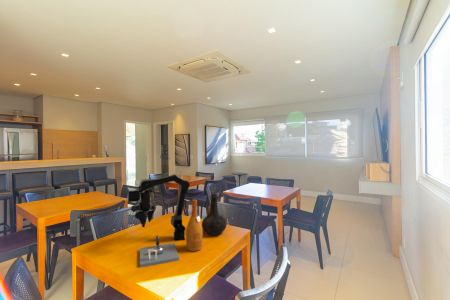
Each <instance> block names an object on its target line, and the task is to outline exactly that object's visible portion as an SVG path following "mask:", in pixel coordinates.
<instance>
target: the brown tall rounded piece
mask: <svg viewBox="0 0 450 300" xmlns="http://www.w3.org/2000/svg"><path fill="white" fill-rule="evenodd" d="M197 207H198V200H197V199H191V216H190V218H189V220H188V223H187V225H186V228H185V233H186V234H185V242H186V249H187V250H188V251H190V252H198V251H200V250H201V249H202V248H203V228H202V221H201V217H200V215H198V212H197V211H198V210H197Z"/></svg>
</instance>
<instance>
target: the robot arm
mask: <svg viewBox="0 0 450 300" xmlns="http://www.w3.org/2000/svg"><path fill="white" fill-rule="evenodd" d="M172 182H174V183H176V184H177V185H178V196H177V202H176V205H175V206H176V207H175V211H174V212H175V213H174V214H173V215H171V217H170V221H169V222H170V223H171V226H172V227H173V228H174V230H173V239H174V240H175V242H177V241H186V234H185V232H186V227H185V225H184V224H183V215H182V214H183V210H184V204H185V198H186V194H187V192H188V191H189V188H190V182H189V181H188V180H186V179H182V178H180V177H179V176H177V175H176V174H171V175H166V176H162V177H159V178H148V179H147V178H146V179H145V178H144V179H142V180H141V181H140V182H139V185H138V187H137V188H136V189H134V190H127V202H128V203H132V202H133V203H134V202H138V201H139V200H140V202H139V203H138V204H136V205H135V204H134V205H131V207H130V210H131V212H132V213H134V218H135V219H138V220H139V222H140V224H141V227H142V228H145V226H146V223H147V221H148V223H150V222H151V221H152V219H153V216H154V213H155V212H156V210H157V206H156V205H155V204H151V203H152V202H153V201H152V200H151V193H154V190H153V189H152V188H154V187H156V186H158V185H163V184H168V183H172Z"/></svg>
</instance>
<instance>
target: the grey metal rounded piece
mask: <svg viewBox="0 0 450 300" xmlns="http://www.w3.org/2000/svg"><path fill="white" fill-rule="evenodd" d="M159 245H160V235H156V236H155V246H157V247H155V248H154V250H157V254H161V253H163V246H159ZM150 253H152V252H150ZM154 253H155V252H154ZM147 254H148V251H147Z"/></svg>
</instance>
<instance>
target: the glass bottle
mask: <svg viewBox="0 0 450 300" xmlns="http://www.w3.org/2000/svg"><path fill="white" fill-rule="evenodd" d="M209 197H210V208H209V213H208V215H207V216H205V217H204V218H203V219H202V221H201V226H202V231H203V232H204V233H206V234H207V235H209V236H218V235H221V234H222V233H223V232H224V231H225V230H226V228H227V223H228V222H227V220H226V218H225V217H224V216H223V215H220V214H219V208H218V198H219V196H218V194H217V193H212V194H210V196H209Z"/></svg>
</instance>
